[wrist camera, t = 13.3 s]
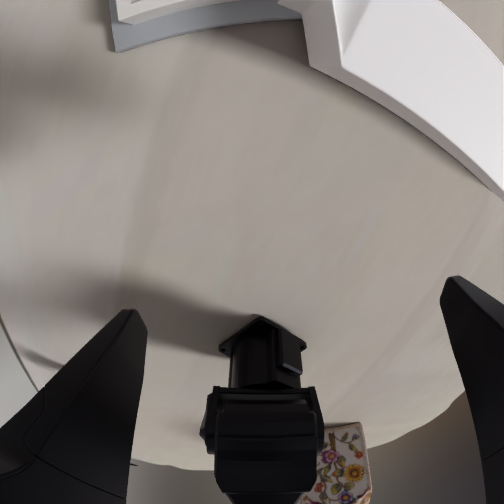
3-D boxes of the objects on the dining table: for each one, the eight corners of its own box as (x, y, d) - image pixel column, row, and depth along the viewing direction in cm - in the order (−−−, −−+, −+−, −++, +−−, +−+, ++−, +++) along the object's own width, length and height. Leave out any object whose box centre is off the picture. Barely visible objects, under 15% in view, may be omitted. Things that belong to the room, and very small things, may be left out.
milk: (535, 230, 14) (262, 36, 9) (492, 192, 19) (255, 47, 14) (568, 166, 11) (320, -73, 5) (520, 137, 16) (295, -34, 10)
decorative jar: (354, 440, 49) (364, 516, 34) (298, 448, 50) (301, 526, 35) (363, 420, 42) (377, 513, 27) (296, 430, 43) (300, 525, 29)
